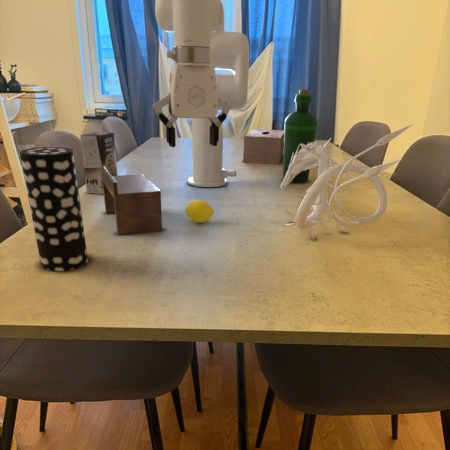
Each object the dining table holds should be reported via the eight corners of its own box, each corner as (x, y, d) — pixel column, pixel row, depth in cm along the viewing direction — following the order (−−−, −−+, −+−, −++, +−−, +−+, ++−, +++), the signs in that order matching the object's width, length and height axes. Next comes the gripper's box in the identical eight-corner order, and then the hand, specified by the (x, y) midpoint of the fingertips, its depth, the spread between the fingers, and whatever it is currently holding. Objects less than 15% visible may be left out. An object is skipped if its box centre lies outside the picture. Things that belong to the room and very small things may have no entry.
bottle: (313, 179, 150) (323, 89, 137) (308, 185, 141) (319, 90, 128) (283, 176, 153) (290, 88, 140) (276, 182, 144) (283, 89, 131)
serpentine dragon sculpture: (412, 272, 77) (464, 117, 70) (299, 251, 75) (340, 88, 67) (334, 233, 120) (361, 134, 112) (261, 219, 117) (283, 117, 110)
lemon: (184, 225, 102) (183, 202, 99) (186, 218, 107) (185, 196, 104) (213, 226, 102) (213, 203, 99) (214, 219, 107) (214, 197, 104)
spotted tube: (48, 254, 84) (28, 146, 75) (91, 253, 85) (77, 147, 76) (35, 271, 77) (12, 155, 68) (83, 270, 78) (66, 155, 68)
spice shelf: (144, 209, 113) (141, 164, 108) (162, 230, 98) (160, 179, 93) (105, 212, 110) (100, 166, 104) (118, 235, 95) (113, 182, 90)
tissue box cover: (251, 152, 198) (253, 128, 193) (283, 153, 195) (285, 130, 191) (243, 162, 175) (244, 136, 171) (278, 164, 173) (280, 137, 168)
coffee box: (106, 194, 125) (100, 135, 117) (86, 193, 126) (78, 134, 118) (119, 187, 133) (114, 131, 125) (100, 186, 134) (94, 130, 126)
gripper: (155, 55, 83) (159, 149, 90) (238, 59, 88) (235, 147, 96) (146, 57, 89) (151, 144, 97) (224, 60, 95) (222, 142, 102)
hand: (193, 145), depth 96 cm, fingers open, 9 cm apart
